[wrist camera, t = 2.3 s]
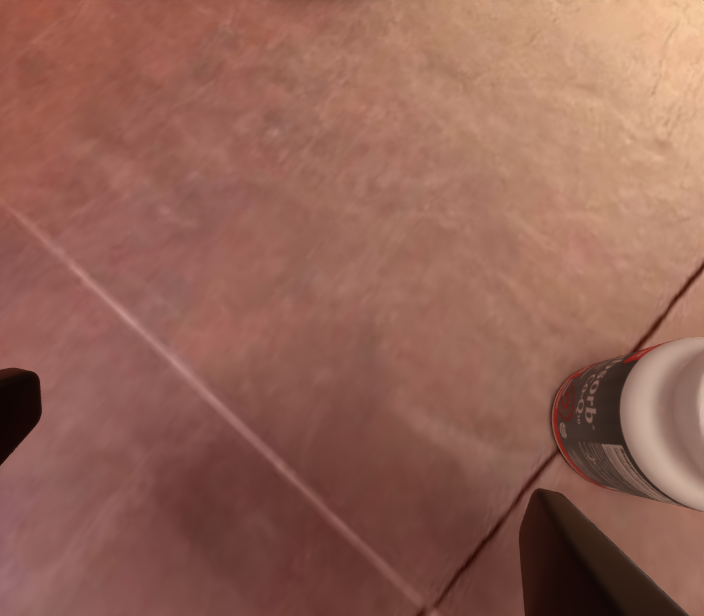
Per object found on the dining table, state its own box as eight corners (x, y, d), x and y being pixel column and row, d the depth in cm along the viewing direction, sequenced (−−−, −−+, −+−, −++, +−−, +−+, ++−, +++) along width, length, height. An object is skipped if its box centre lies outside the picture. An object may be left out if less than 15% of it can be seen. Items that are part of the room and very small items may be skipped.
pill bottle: (595, 340, 23) (754, 273, 14) (697, 421, 22) (949, 412, 12) (522, 428, 22) (637, 424, 13) (624, 518, 21) (837, 588, 12)
